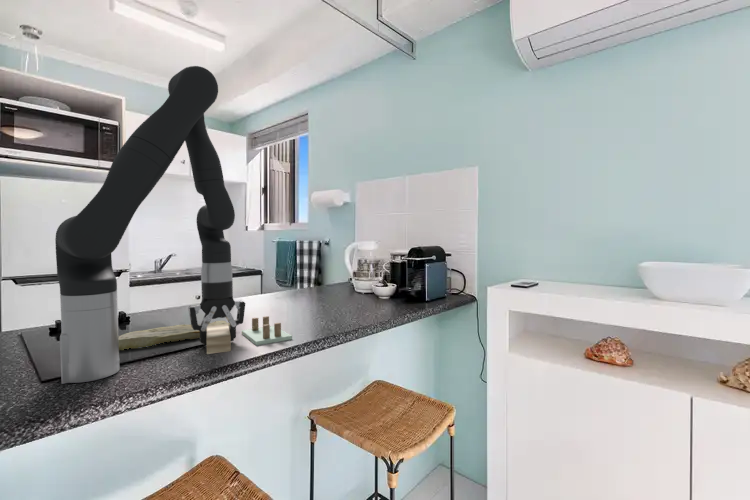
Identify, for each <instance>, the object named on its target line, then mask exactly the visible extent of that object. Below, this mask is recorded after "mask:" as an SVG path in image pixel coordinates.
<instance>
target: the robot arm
mask: <svg viewBox="0 0 750 500" xmlns="http://www.w3.org/2000/svg"><path fill="white" fill-rule="evenodd" d="M167 87H168V88H167V90H168V91H167V92H168V97H167V98H166V100H165V101H164V103H163V104H162V105H161V106H160V107H159V108H158V109H157V110H155V111H154V112H153V113H151V115H150V116H148V117H147V118H146V119H145V120H144V121H143V122H142V123H141V124H140V125H139V126H138V127H136V129H135V130H134V131H133V132H132V134H131V135H130V136H129V137H128V138H127V140H126V141H125V142H124V144H123V145H122V146H121V148H120V149H119V151H118V152H117V153H116V155H115V157H114V158H113V161H112V163H111V165H110V167H109V170H108V173H107V175H106V178H105V181H103V185H101V187H100V189H99V190H98V191H97V193H96V194H95V195H94V196H93V198H92V199H91V200H90V201H89V202H88V203H87V205H85V207H84V208H83V209H82V210H81V211H80V212H79V213H78V214H77V215H75V216H74V215H73V216H71V217H69V218H67V219H65V220H63V221H62V222H61V223H60V225H59V226H58V227H57V229H56V233H55V239H54V240H55V258H56V259H55V262H56V273H57V275H56V276H57V281H58V284H59V295H60V296H59V297H60V299H59V300H60V323H61V326H60V327H61V328H60V329H61V333H60V336H59V348H60V349H59V354H60V375H61V376H60V377H61V384H63V385H64V384H70V383H71V384H72V383H73V384H74V383H75V384H79V383H85V382H86V383H87V382H93V381H99V380H102V379H104V378H108V377H110V376H112V375H115V374H117V373H119V371H120V350H119V337H118V336H119V312H118V310H119V309H118V308H119V306H118V281H117V280H118V279H117V278H116V275H115V273H114V272H115V271H114V270H113V263H112V260H113V259H112V253H113V252H114V251H115V250H116V249H117V248H118V246H119V244H120V243H121V241H122V238H123V236H124V235H125V233H126V231H127V228H128V227H129V224H130V223H131V221H132V219H133V217H134V215H135V213H136V211H138V208H139V207H140V205H141V204H142V203H143V202H144V201H145V200H146V198H147V197H148V196H149V195H150V193H151V192H152V191H153V189H154V188H155V187H156V185H157V184H158V182H159V181H161V179H162V177H163V176H164V175H165V173H166V171H167V170H168V169H169V168H170V166H171V164H172V163H173V161H174V160H175V158H176V156H177V154H178V153H179V152H180V150H181V148H182V146H183V145H184V143H185V146H186V149H187V153H188V156H189V162H190V167H191V172H192V177H193V183H194V184H193V185H194V187H195V190H196V192H197V194H200V195H202V197H203V200H204V203H205V204H204V205H203V206H201V207H200V208H199V209H198V212H197V213H196V228H197V233H198V237H199V241H200V244H201V270H200V273H201V275H200V280H201V302H200V304H197V305H189V306H188V308H187V309H188V314H189V315H188V316H189V319H190V324H191V326H192V328H193V329H194V330H199V331H200V338H199V342H200V343H201V344H202V345H203V346H207V341H206V338H207V331H206V328H207V326H208V324H209V323H211V320H214V319H215V320H216V319H218V318H220V319H224V318H226V320H227V321H228V322H227V323H229V324H230V326H229V331H230V336H231V342H234V340H235V339H236V338H237V326H239V325H241V324H243V323H244V318H245V309H246V302H245V301H244V300H238V301H237V300H234V295H233V294H234V291H233V290H234V289H233V288H234V286H233V283H234V282H233V267H232V249H231V244H230V241H228V240H227V239H226V238H225V235H224V231H226V230H228V229H230V228H231V227H232V226H233V225H234V223H235V218H236V217H235V216H236V215H235V214H236V212H235V207H234V205H233V202H232V200H231V197H230V195H229V193H228V190H227V188H226V186H225V180H224V175H223V168H222V164H221V160H220V157H219V154H218V152H217V150H216V148H215V146H214V144H213V142H212V140H211V139H210V137H209V133H208V130H207V128H206V122H205V113H206V112H207V111H208V109H209V108H210V107H212V105H213V104H214V103H215V102H216V100H217V98H218V93H219V85H218V81H217V79H216V77H215V75H214V74H213V73H212V71H210V70H209V69H207V68H205V67H203V66H198V65H191V66H187V67H185V68H183V69H181V70H180V71H179V72H177V73H176V74H174V75H173V76H171V78H170V80H169V81H168V86H167ZM234 307H235V309H236V310H237V314H236V319H234V316H233V315H232V313H231V311H232V309H233V308H234ZM200 310H202V312H203V313H204V315H203V317H202V321H201V322H200V325H198V324H199V323H198V318H197V315H198V314H199V313H200Z"/></svg>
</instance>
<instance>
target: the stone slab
mask: <svg viewBox="0 0 750 500" xmlns="http://www.w3.org/2000/svg"><path fill="white" fill-rule="evenodd" d="M200 324H201V323H200ZM200 324H199V323H198V325H200ZM225 324H228V325H229V326H230V324H229V322H227V321H226V320H216V321H213V322H210V323H209V324H208V326H214V325H225ZM206 331H207V328H206ZM118 337H119V351H125V350H124V349H127V350H129V348H131V349H139V348H138V347H146V346H152V345H155V344H159V343H163V344H165V343H164V342H167V343H171V342H178V341H179V340H180V341H185V339H190V340H195V339H200V331H199V330H194V329H193V328H192V326H191V323H190V324H184V323H182V324H177V325H170V326H169V325H168V326H161V327H155V328H149V329H144V330H143V329H142V330H134V331H130V332H126V333H123V334H121V335H118ZM170 341H171V342H170ZM155 346H156V345H155ZM152 347H153V346H152Z"/></svg>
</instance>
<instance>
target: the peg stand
mask: <svg viewBox="0 0 750 500" xmlns="http://www.w3.org/2000/svg"><path fill="white" fill-rule="evenodd" d="M241 334H242V335H243V337H245V338H246V339H248V340H249V341H250V343H253V345H255V346H260V345H266V344H267V345H268V344H272V343H278V342H284V341H289V340H293V335H292V334H290V333H288V332H286V331H285V330H283V329H282V323H281V322H274V325H270V316H265V315H264V316H262V327H259V317H252V318H251V328H250V329H242V330H241Z"/></svg>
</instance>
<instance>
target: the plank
mask: <svg viewBox="0 0 750 500" xmlns="http://www.w3.org/2000/svg"><path fill="white" fill-rule="evenodd" d="M206 341H207V345H206V355H210V354H218V353H227V352H231V351H232V345H231V344H232V343H231V342H232V341H231V336H230V331H229V325H228V324H225V325H214V326H207V338H206Z"/></svg>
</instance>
